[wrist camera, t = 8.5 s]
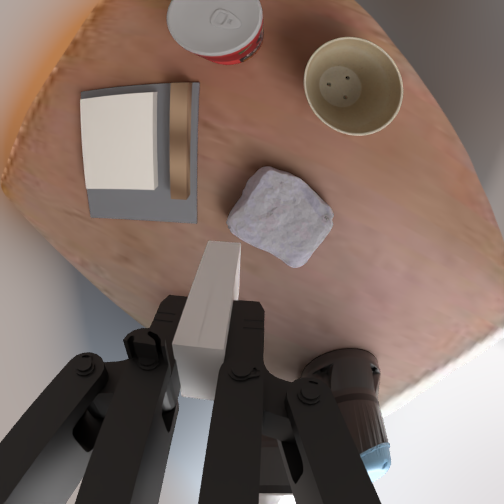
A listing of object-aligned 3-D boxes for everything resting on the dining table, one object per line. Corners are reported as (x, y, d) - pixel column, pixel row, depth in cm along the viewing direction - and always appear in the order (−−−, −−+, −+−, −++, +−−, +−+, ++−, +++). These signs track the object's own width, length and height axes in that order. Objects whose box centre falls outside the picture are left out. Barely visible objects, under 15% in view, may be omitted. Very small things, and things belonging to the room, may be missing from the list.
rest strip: (190, 194, 38) (186, 199, 37) (175, 193, 38) (170, 199, 37) (192, 82, 31) (188, 82, 30) (175, 83, 31) (170, 82, 30)
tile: (154, 189, 36) (86, 188, 36) (158, 185, 38) (92, 184, 38) (152, 92, 30) (80, 99, 31) (157, 91, 32) (87, 98, 32)
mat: (197, 222, 41) (196, 223, 40) (91, 216, 41) (90, 217, 40) (199, 82, 32) (199, 82, 31) (82, 91, 32) (80, 91, 32)
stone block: (260, 155, 38) (221, 222, 40) (266, 157, 33) (221, 233, 36) (336, 201, 41) (296, 262, 43) (349, 210, 36) (305, 277, 39)
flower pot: (392, 72, 30) (418, 71, 23) (357, 141, 34) (377, 153, 28) (317, 31, 28) (329, 19, 22) (282, 103, 33) (286, 106, 26)
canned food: (257, 70, 31) (252, 62, 21) (188, 61, 30) (157, 51, 21) (270, 12, 27) (271, -18, 18) (201, 3, 27) (175, -26, 17)
